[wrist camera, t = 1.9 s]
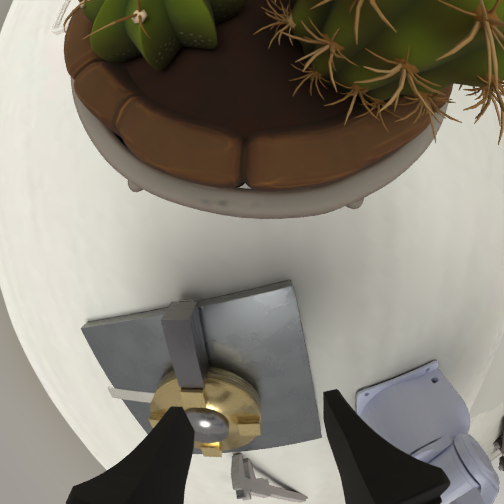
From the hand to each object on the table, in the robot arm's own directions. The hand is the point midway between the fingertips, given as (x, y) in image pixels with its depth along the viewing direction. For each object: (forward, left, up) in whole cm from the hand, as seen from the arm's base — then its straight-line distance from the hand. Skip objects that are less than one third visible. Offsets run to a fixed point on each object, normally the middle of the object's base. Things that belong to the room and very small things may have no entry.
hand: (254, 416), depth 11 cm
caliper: (+4, +27, -10) cm, 29 cm away
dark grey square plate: (+6, +6, -9) cm, 13 cm away
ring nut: (+5, +4, -8) cm, 10 cm away
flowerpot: (-4, -16, -10) cm, 19 cm away
